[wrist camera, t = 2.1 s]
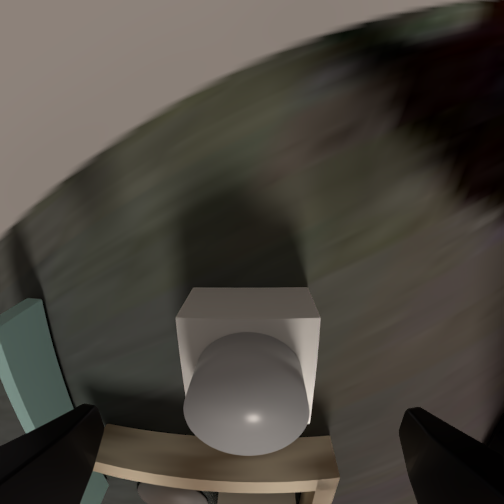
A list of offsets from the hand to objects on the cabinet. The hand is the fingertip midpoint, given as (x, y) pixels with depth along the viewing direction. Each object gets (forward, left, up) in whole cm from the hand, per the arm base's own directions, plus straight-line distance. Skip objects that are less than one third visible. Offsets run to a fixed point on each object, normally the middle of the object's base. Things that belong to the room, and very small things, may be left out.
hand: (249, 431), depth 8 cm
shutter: (+10, +5, -5) cm, 13 cm away
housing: (+2, +13, -5) cm, 14 cm away
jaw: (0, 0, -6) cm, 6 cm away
